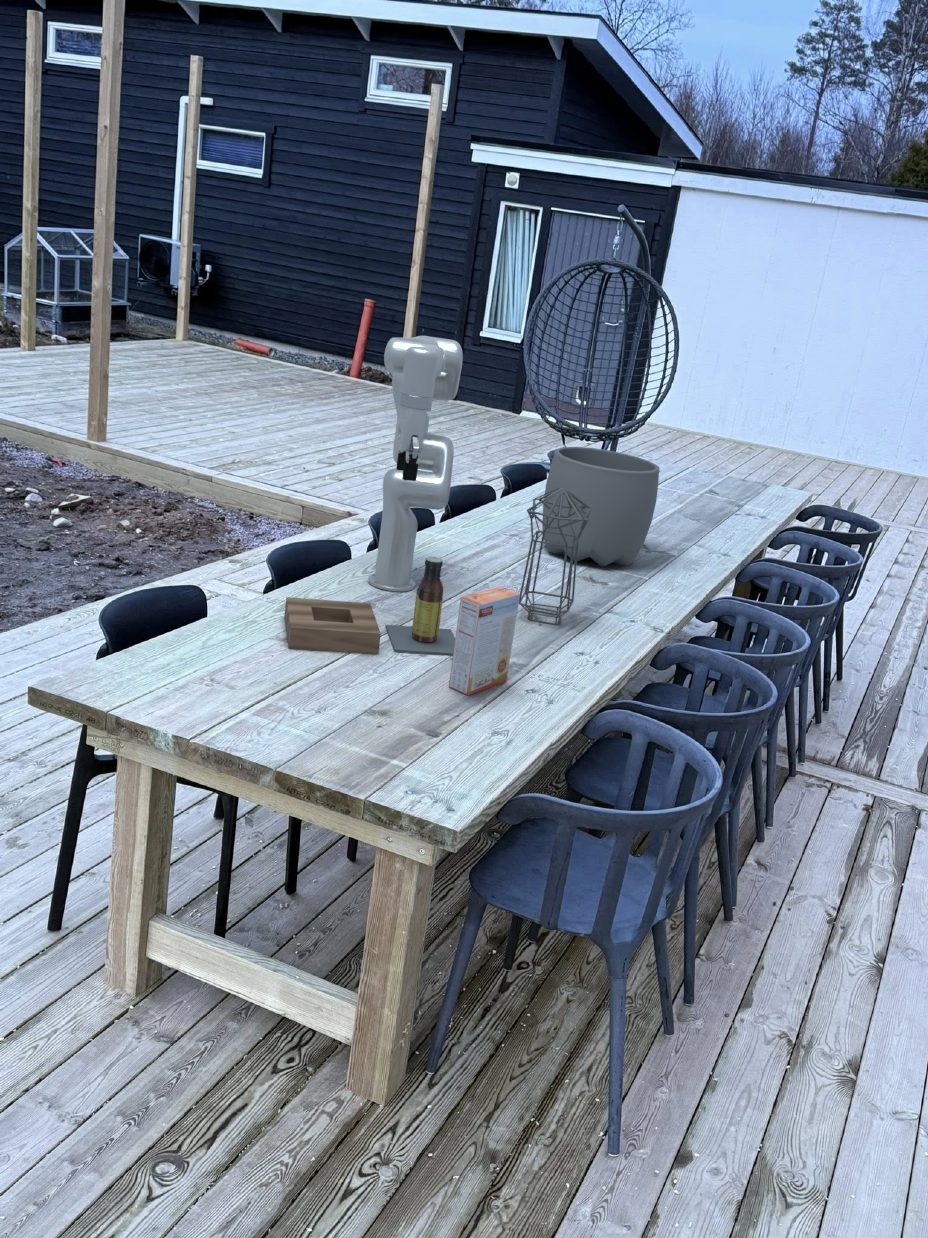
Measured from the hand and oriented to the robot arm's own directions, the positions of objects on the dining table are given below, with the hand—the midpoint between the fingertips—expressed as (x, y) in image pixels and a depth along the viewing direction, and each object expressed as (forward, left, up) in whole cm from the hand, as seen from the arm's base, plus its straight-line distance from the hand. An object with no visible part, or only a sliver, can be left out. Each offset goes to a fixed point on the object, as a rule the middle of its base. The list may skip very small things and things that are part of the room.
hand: (406, 475), depth 263 cm
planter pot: (-73, +75, -36) cm, 111 cm away
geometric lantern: (-10, +42, -36) cm, 57 cm away
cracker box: (+37, +15, -36) cm, 54 cm away
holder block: (+13, -15, -36) cm, 41 cm away
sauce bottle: (+13, +7, -36) cm, 39 cm away
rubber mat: (+13, +7, -36) cm, 39 cm away
